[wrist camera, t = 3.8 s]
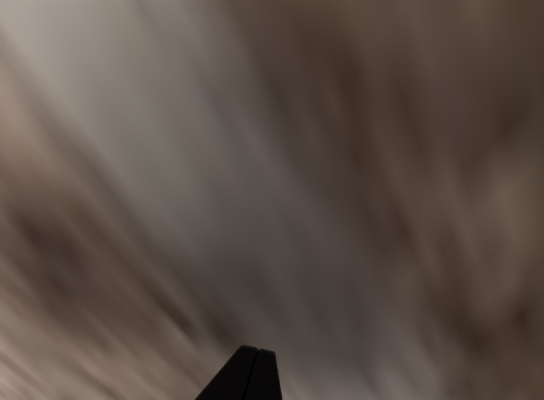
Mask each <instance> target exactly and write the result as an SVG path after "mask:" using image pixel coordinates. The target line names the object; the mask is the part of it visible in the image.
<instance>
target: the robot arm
mask: <svg viewBox="0 0 544 400" xmlns="http://www.w3.org/2000/svg"><path fill="white" fill-rule="evenodd" d="M195 400H283V399H282V393H281V387H280V380H279V374H278V367H277V361H276V355H275V353H274V352H273V351H270V350H265V349H259V350H258V349H257V348H256V347H253V346H248V345H242V346H240V347H239V349H238V350H237V351H236V352H235V353H234V354H233V356H232V357H231V358H230V359H229V360H228V361H227V363H226V364H225V365H224V366H223V367H222V368H221V370H220V371H219V372H218V373H217V374H216V375H215V377H214V378H213V379H212V380H211V381H210V382H209V384H208V385H207V386H206V387H205V388H204V389H203V391H202V392H201V393H200V394H199V395H198V396H197V398H196V399H195Z"/></svg>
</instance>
